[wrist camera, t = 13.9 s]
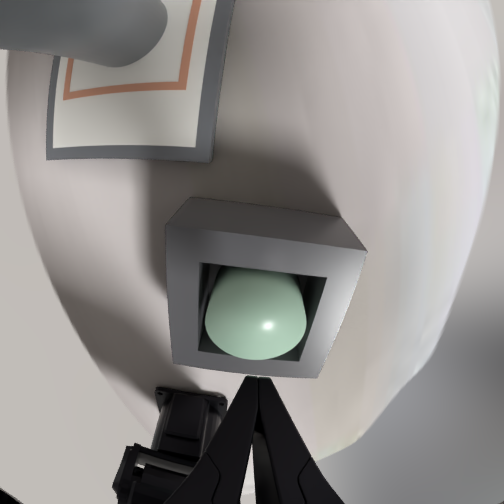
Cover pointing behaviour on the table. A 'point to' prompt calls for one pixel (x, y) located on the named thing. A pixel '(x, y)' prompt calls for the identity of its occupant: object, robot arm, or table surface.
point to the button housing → (263, 258)
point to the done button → (255, 312)
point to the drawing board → (145, 94)
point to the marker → (84, 28)
